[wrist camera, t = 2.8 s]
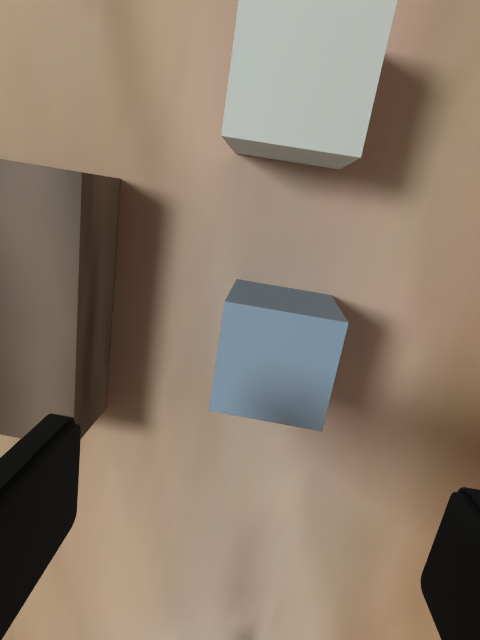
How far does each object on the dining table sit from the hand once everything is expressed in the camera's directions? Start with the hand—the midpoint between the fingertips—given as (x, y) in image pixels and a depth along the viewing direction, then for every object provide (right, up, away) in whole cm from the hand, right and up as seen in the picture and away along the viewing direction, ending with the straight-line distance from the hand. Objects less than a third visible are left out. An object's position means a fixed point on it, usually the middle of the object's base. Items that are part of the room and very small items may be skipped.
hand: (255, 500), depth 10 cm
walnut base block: (-12, +6, +12) cm, 18 cm away
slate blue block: (+1, +4, +11) cm, 12 cm away
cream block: (+2, +14, +8) cm, 17 cm away
